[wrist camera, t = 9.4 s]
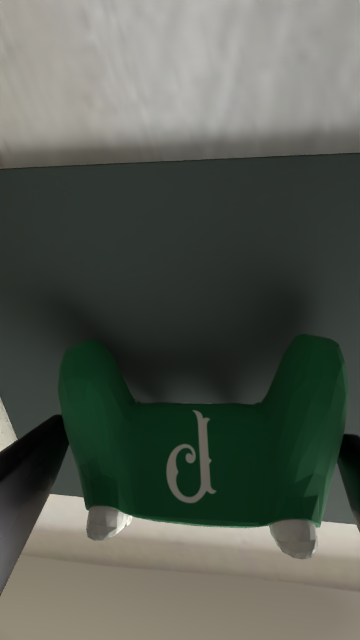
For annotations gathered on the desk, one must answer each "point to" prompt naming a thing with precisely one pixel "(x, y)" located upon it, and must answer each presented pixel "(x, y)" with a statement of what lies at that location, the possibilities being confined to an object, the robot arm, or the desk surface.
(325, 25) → the desk surface
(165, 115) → the desk surface
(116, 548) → the desk surface
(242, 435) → the gaming controller
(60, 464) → the robot arm
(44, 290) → the mat
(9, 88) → the desk surface
